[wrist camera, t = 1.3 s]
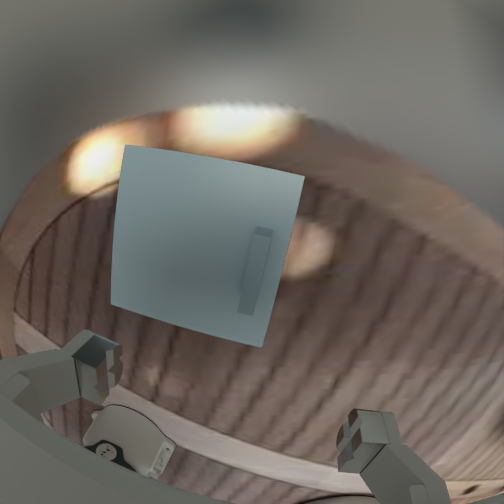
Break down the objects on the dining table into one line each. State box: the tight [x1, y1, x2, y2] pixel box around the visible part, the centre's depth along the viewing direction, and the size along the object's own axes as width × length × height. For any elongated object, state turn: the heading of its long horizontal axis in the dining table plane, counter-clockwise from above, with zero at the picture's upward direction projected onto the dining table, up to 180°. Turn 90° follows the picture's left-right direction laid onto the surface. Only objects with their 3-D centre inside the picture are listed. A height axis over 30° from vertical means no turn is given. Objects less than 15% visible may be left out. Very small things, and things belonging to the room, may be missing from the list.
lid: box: [111, 145, 305, 348], centre depth 24 cm, size 15×15×5 cm
